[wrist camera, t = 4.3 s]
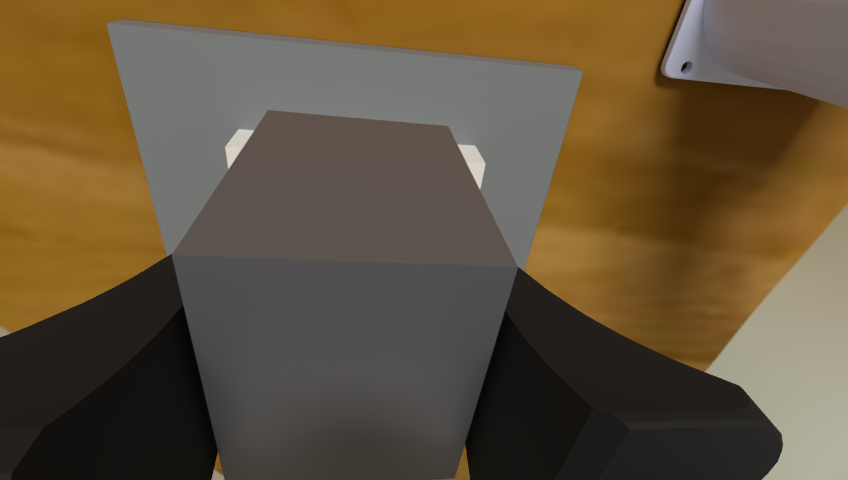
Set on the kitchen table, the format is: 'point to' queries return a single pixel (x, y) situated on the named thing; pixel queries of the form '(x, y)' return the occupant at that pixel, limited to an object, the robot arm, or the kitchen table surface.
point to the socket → (335, 110)
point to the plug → (344, 300)
